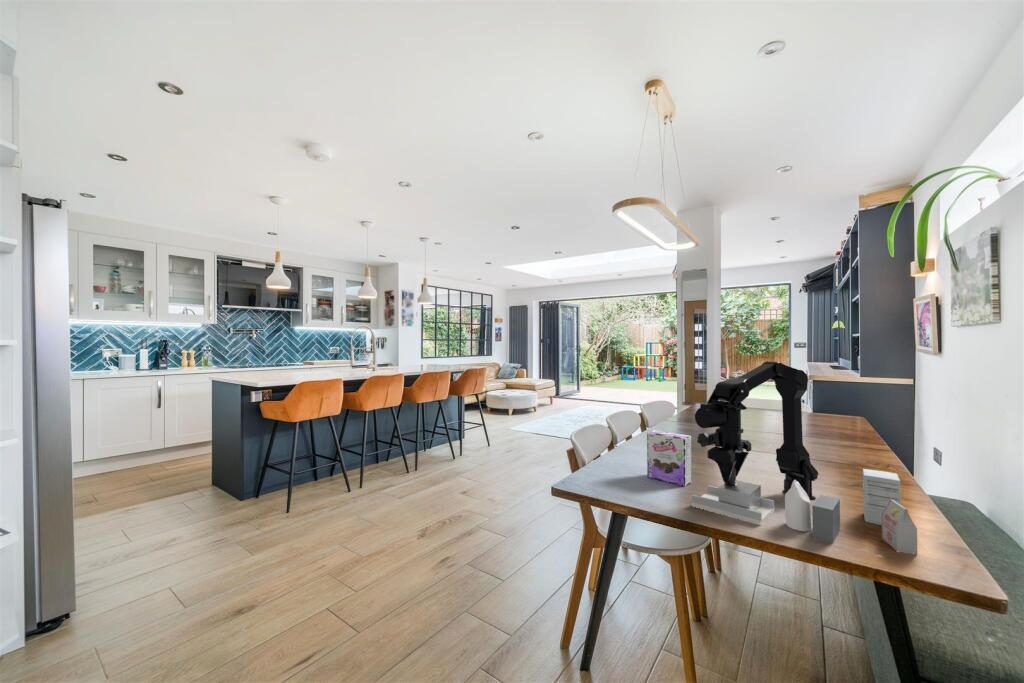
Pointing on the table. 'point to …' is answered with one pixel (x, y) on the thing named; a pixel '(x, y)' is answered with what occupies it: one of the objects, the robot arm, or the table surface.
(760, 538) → the table surface
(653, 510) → the table surface
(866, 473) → the supplement box
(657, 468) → the candy box
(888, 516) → the gable top carton
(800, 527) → the white pouch
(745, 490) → the block
